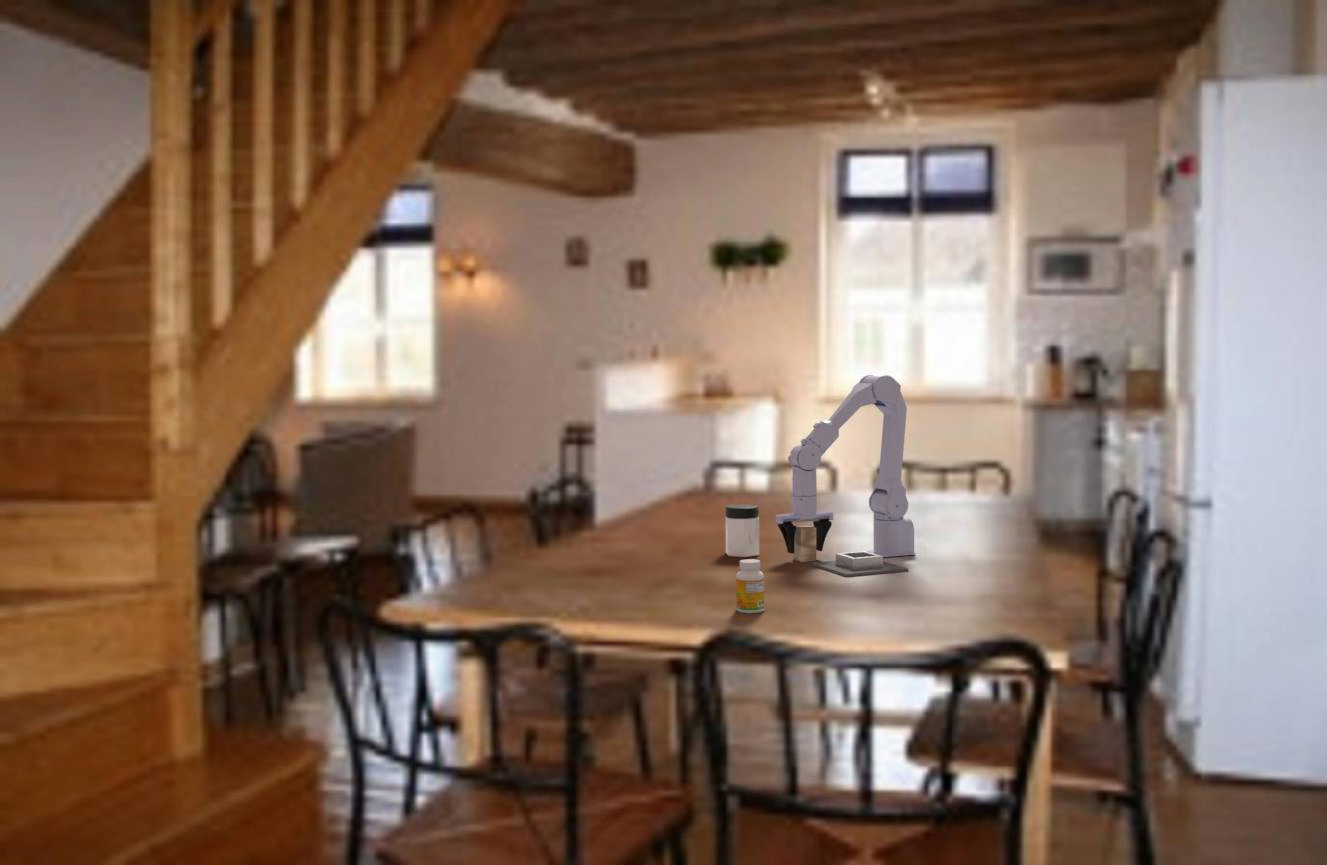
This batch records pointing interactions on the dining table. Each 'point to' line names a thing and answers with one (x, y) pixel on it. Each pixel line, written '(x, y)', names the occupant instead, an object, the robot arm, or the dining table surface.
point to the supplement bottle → (750, 587)
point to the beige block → (805, 544)
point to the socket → (859, 560)
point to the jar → (742, 530)
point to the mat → (848, 572)
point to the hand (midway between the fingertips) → (804, 551)
